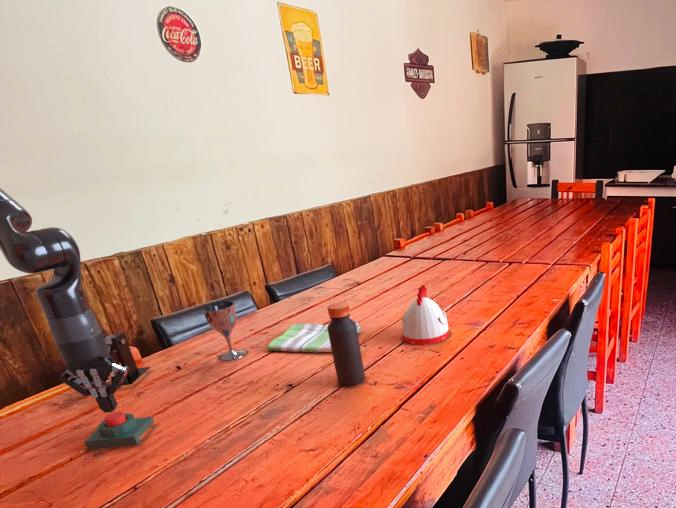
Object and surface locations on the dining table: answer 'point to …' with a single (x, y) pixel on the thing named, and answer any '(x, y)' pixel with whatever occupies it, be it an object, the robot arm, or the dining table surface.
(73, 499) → the dining table surface
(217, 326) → the silver goblet
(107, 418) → the button
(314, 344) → the dish towel
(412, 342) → the kitchen timer
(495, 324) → the dining table surface
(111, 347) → the lever handle
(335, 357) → the bottle
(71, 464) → the dining table surface
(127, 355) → the black lever stand
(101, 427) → the button housing
